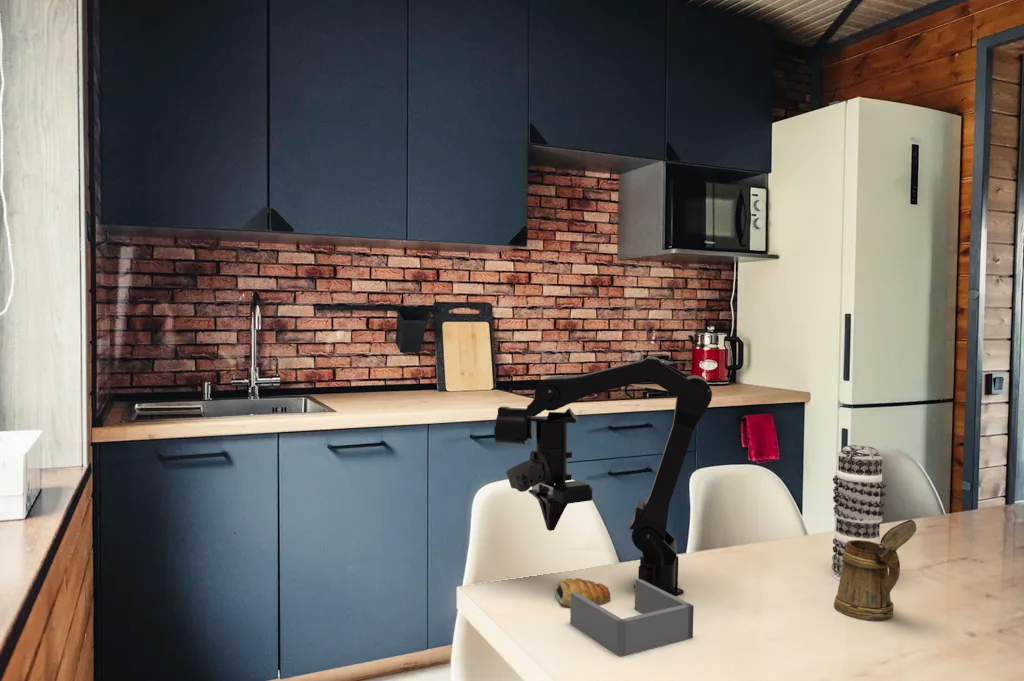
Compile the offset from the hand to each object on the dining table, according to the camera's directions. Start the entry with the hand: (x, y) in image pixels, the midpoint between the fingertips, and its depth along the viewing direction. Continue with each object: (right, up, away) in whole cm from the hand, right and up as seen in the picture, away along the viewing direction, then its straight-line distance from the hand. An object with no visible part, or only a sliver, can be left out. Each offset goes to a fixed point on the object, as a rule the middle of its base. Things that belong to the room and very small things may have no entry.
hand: (550, 530), depth 140 cm
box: (+12, -11, -20) cm, 26 cm away
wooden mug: (+53, -11, -13) cm, 56 cm away
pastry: (+5, -11, -8) cm, 14 cm away
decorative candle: (+58, -11, +5) cm, 59 cm away
